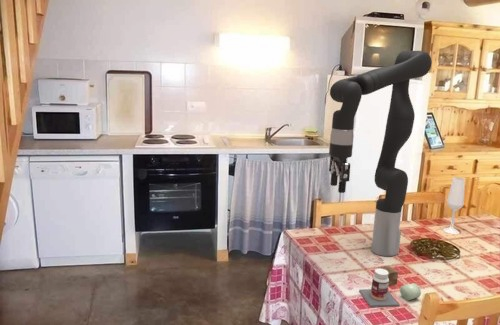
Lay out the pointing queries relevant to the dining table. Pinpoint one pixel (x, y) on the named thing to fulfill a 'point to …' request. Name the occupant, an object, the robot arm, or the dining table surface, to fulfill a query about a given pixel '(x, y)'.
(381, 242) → the robot arm
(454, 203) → the champagne flute
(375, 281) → the pill bottle
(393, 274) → the walnut cube
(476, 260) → the dining table surface
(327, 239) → the dining table surface
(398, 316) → the dining table surface
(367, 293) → the plate
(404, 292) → the green tub
